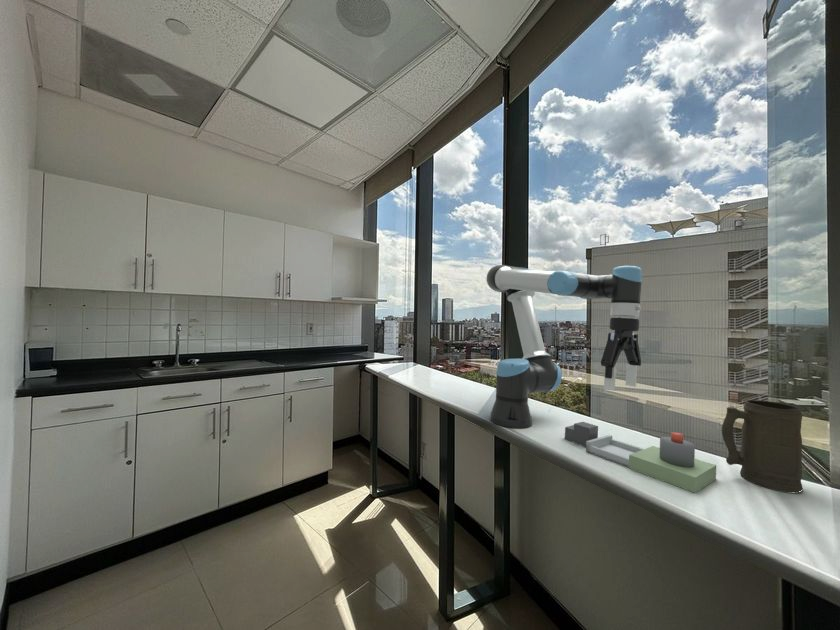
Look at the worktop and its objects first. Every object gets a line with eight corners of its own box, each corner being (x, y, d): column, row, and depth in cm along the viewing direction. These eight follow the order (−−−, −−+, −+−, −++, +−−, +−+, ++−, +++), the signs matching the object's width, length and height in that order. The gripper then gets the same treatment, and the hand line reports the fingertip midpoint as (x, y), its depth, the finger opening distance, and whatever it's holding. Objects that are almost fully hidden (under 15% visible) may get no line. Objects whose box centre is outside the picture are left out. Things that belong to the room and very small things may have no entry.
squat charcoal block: (564, 439, 107) (565, 420, 107) (573, 437, 109) (574, 419, 110) (588, 447, 100) (589, 428, 100) (597, 445, 103) (598, 426, 103)
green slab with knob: (584, 451, 96) (586, 416, 97) (609, 443, 104) (610, 410, 104) (694, 492, 75) (696, 446, 75) (715, 479, 82) (717, 437, 82)
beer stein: (775, 474, 87) (771, 398, 87) (821, 495, 76) (816, 409, 76) (713, 473, 88) (709, 398, 89) (749, 493, 77) (744, 408, 78)
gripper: (617, 316, 89) (613, 394, 89) (656, 319, 103) (652, 386, 103) (590, 315, 95) (586, 388, 95) (630, 318, 109) (626, 382, 109)
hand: (620, 387), depth 99 cm, fingers open, 13 cm apart
